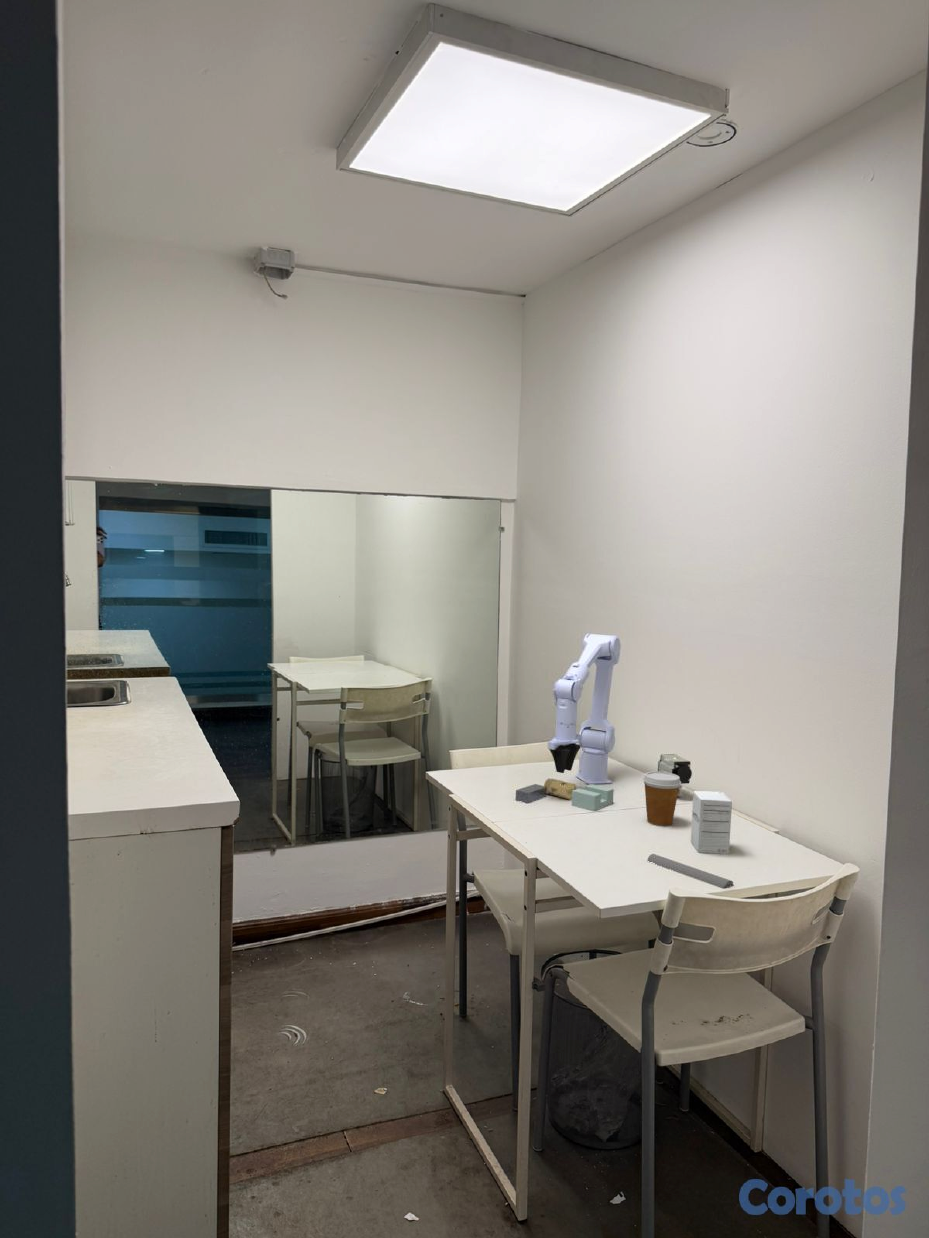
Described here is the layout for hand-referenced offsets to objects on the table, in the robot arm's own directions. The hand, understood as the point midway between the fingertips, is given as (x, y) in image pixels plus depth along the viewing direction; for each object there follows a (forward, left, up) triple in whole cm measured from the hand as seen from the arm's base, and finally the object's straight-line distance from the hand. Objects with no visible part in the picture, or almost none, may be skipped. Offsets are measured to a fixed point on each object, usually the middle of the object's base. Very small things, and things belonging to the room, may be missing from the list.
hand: (563, 770), depth 237 cm
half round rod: (+58, +5, -8) cm, 59 cm away
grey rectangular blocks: (-3, -6, -7) cm, 10 cm away
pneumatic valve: (+4, +32, -8) cm, 33 cm away
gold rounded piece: (-1, 0, -5) cm, 6 cm away
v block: (+8, +5, -7) cm, 12 cm away
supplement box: (+45, +18, -8) cm, 49 cm away
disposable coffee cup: (+25, +16, -8) cm, 31 cm away
